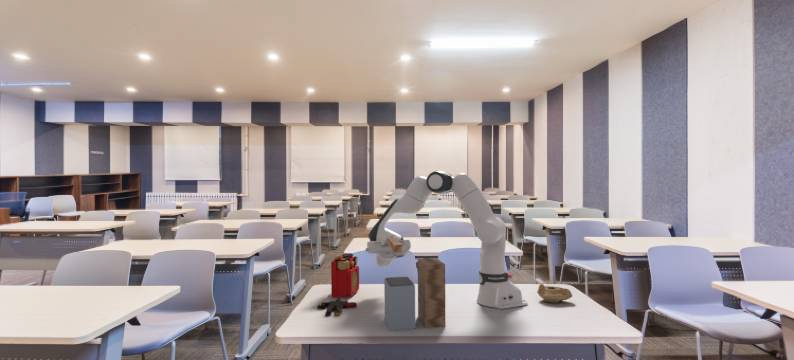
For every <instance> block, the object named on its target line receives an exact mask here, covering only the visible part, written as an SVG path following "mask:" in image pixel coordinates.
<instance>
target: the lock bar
mask: <svg viewBox="0 0 794 360" xmlns="http://www.w3.org/2000/svg"><path fill="white" fill-rule="evenodd" d="M386 239H387V241H388V243H387V245H388V246H389V247H390V248H391V249H392V250H393V251H394V252H402V244H401V243H400V242H398V241H397V240H396V239H395V238H394V237H386Z"/></svg>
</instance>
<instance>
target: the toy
mask: <svg viewBox="0 0 794 360" xmlns="http://www.w3.org/2000/svg"><path fill="white" fill-rule="evenodd" d="M351 308H352V309H354V308H357V302H355V301H354V302H353V301H350V302H349V301H348V300H341V297H338V298H337V299H335V300H330V301H325V302H323V301H322V302H321V303H320V304H319V305H316V309H317V310H325V309H326V313H325V316H326V317H330V316H331V315H332V313H333V312H334V313H335V315H337V316H340V315H341V313H342V311H343V309H351Z"/></svg>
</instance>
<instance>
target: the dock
mask: <svg viewBox="0 0 794 360" xmlns="http://www.w3.org/2000/svg"><path fill="white" fill-rule="evenodd" d="M383 283H384V284H383V285H384V291H383V292H384V321H385V323H386V326H387V328H388V331H389V332H392V331H393V332H394V331H404V330H415V329H416V285H415V284H414V282H413V281H412V280H411V279H410V277H408V276H395V277H385V278H384V282H383Z"/></svg>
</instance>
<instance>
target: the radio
mask: <svg viewBox="0 0 794 360" xmlns="http://www.w3.org/2000/svg"><path fill="white" fill-rule="evenodd" d="M358 261H359V259H358V256H354V253H343V254H342V255H341V254H337V255H335V258H334V260H332V261H331V263H330V265H331V266H330V269H331V270H330V274H331V279H330V280H331V281H330V282H331V287H330V289H331V290H330V291H331V294H330V295H331V298H332V297H333V298H334V299H335V298H337V299H338V298H344V299H345V298H346V299H347V298H349V297H353V296H354V295H355V294H356V293H357V292H358V291H359V290H360V266H359V265H357V264H358Z"/></svg>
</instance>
